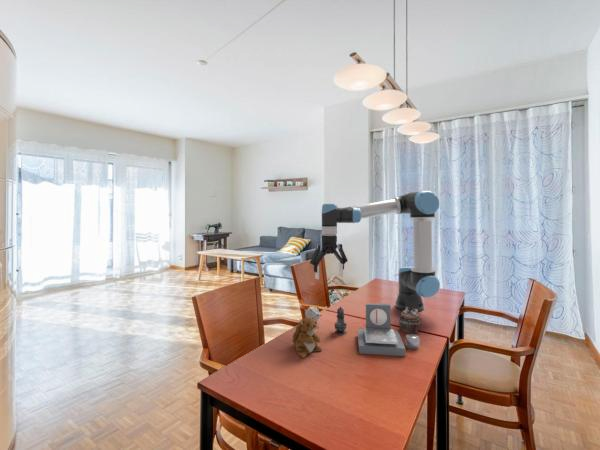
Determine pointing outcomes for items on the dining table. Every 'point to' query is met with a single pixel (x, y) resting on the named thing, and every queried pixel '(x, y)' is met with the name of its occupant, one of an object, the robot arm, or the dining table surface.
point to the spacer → (412, 341)
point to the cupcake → (410, 320)
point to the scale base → (380, 319)
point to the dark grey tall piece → (340, 322)
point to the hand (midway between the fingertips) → (329, 277)
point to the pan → (380, 336)
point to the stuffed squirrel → (306, 337)
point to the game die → (312, 313)
